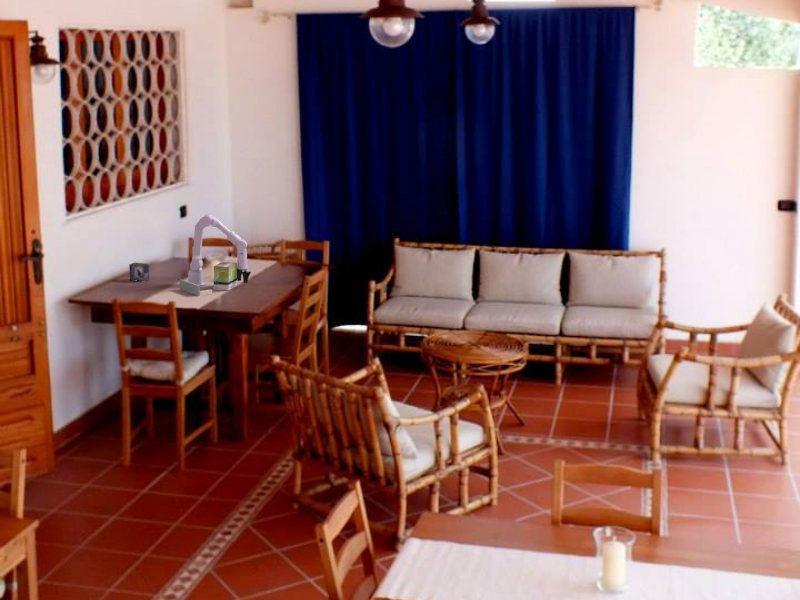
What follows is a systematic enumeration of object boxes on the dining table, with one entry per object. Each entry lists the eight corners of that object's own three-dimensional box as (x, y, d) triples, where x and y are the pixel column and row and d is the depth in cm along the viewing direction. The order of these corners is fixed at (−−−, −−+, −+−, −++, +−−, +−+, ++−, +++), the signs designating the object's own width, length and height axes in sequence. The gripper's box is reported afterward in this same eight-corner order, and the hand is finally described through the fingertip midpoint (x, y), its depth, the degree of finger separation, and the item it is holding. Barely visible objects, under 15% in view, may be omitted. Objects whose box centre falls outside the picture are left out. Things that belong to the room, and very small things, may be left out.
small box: (129, 280, 720) (128, 264, 718) (135, 278, 726) (134, 262, 724) (143, 282, 716) (143, 265, 714) (149, 280, 722) (149, 263, 720)
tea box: (229, 291, 695) (228, 266, 692) (213, 290, 697) (212, 265, 694) (237, 286, 710) (237, 262, 706) (221, 285, 712) (221, 261, 708)
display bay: (179, 289, 697) (179, 279, 696) (193, 287, 703) (193, 277, 701) (198, 296, 680) (197, 285, 679) (212, 294, 685) (211, 284, 684)
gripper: (254, 261, 704) (254, 283, 707) (241, 257, 715) (241, 279, 718) (243, 262, 700) (244, 284, 703) (231, 258, 711) (231, 280, 714)
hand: (242, 281), depth 710 cm, fingers open, 7 cm apart
